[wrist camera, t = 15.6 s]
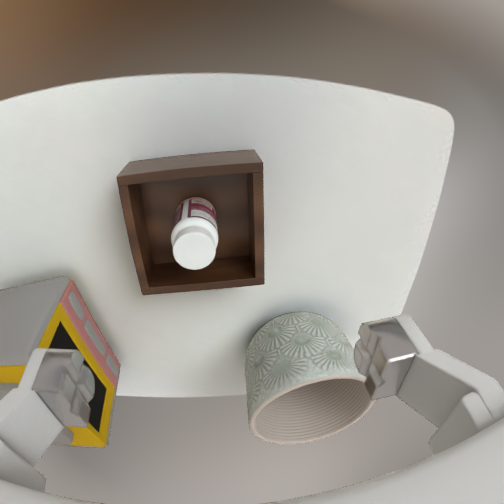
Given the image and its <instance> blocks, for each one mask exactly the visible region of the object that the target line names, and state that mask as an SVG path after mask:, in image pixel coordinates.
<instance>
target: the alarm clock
mask: <svg viewBox="0 0 504 504" xmlns="http://www.w3.org/2000/svg"><path fill="white" fill-rule="evenodd" d="M36 348H44V349H72V350H79V351H80V352H81V354H82V355H83V357H84V361H83V364H84V365H86V366H87V367H89V368H90V370H91V372H92V374H93V377H94V380H95V392H94V397H93V398H92V399H91V400H90V401H89V402H88V405H89V407H90V409H91V411H90V416H89V421H88V427H87V428H86V427H71V426H64V428H63V429H62V431H61V432H60V433H59V435H58V436H57V437H56V438H55V440H54V441H53V442H52V444H51V445H59V446H70V447H86V448H105V447H106V446H107V445H108V442H109V435H110V428H111V420H112V414H113V407H114V402H115V396H116V390H117V384H118V379H119V373H120V364H119V362H118V360H117V359H116V357H115V356H114V354H113V352H112V351H111V349H110V347H109V346H108V344H107V342H106V341H105V339H104V337H103V336H102V334H101V332H100V330H99V329H98V327H97V325H96V323H95V322H94V320H93V318H92V316H91V314H90V312H89V311H88V309H87V307H86V305H85V303H84V301H83V299H82V297H81V295H80V293H79V292H78V290H77V288H76V286H75V284H74V281H73V280H69V279H67V278H66V277H64V276H63V277H57V278H52V279H48V280H43V281H38V282H34V283H29V284H25V285H20V286H16V287H11V288H7V289H2V290H0V400H1V399H2V398H3V397H4V396H5V395H7V394H8V393H9V392H10V391H11V390H12V389H13V388H18V386H19V383H20V380H21V378H22V375H23V373H24V371H25V368H26V366H27V363H28V361H29V359H30V356H31V354H32V352H33V350H35V349H36Z"/></svg>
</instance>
